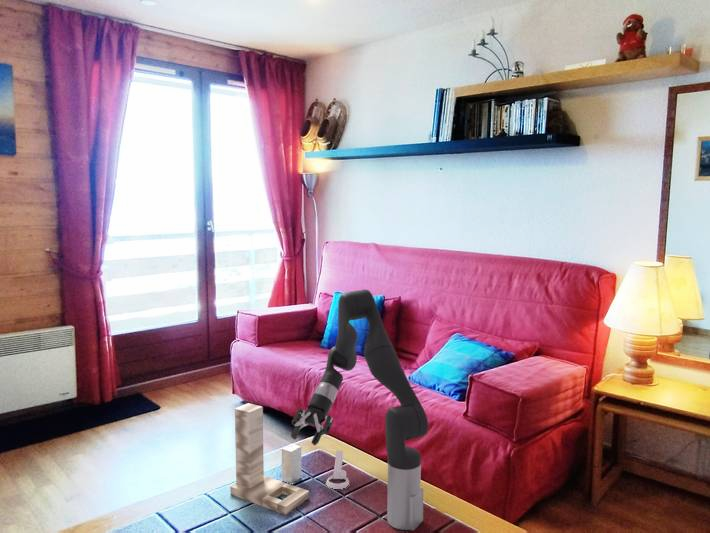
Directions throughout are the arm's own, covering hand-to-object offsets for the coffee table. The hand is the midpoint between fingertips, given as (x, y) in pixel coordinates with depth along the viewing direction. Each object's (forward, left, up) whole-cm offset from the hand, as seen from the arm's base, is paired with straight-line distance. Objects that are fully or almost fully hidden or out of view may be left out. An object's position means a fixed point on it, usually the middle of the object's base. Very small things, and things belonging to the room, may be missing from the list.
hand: (303, 441), depth 184 cm
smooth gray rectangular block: (0, +6, -11) cm, 12 cm away
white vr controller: (-14, 0, -11) cm, 18 cm away
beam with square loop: (-1, +18, -11) cm, 21 cm away
